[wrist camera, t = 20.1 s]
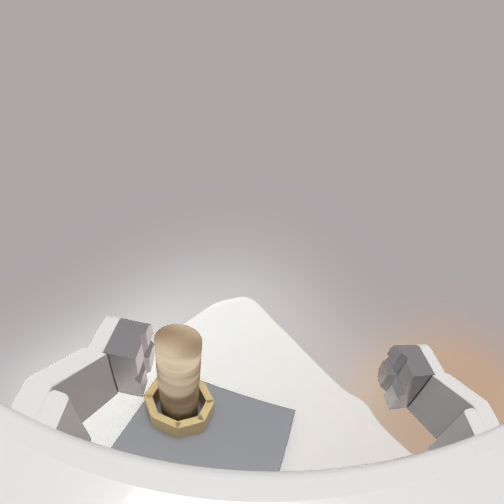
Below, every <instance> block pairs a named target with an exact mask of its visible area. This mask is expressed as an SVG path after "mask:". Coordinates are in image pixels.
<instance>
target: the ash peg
mask: <svg viewBox="0 0 504 504" xmlns="http://www.w3.org/2000/svg"><path fill="white" fill-rule="evenodd" d="M154 346H155V358H156V369H157V379H158V388H159V396H160V404H161V412H162V414H163V415H165V416H167V417H169V418H171V419H174V420H176V421H181V420H185V419H189V418H192V417H196V416H197V415H198V400H199V382H200V366H201V351H202V338H201V336H200V334H199V333H198V332H197V331H196V330H195V329H193V328H192V327H189V326H187V325H182V324H172V325H167V326H164V327H162V328H161V329H159V330H158V331H157V333H156V334H155V337H154Z"/></svg>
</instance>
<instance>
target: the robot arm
mask: <svg viewBox="0 0 504 504" xmlns="http://www.w3.org/2000/svg"><path fill="white" fill-rule="evenodd" d="M152 335H153V329H152V325H151V324H147V323H141V322H137V321H132V320H128V319H123V318H117V317H113V316H109V315H108V316H106V317H105V318H104V320H103V321H102V323H101V325H100V326H99V328H98V330H97V332H96V333H95V335H94V337H93V339H92V340H91V342H90V344H89V346H88V348H81V349H80V350H78V351H76V352H74V353H72V354H71V355H68V356H67V357H65V358H63V359H61V360H59V361H57V362H55V363H54V364H52V365H50V366H48V367H46V368H44V369H43V370H41V371H39V372H37V373H35V374H33V375H31V376H29V377H28V378H27V379H26V381H25V383H24V385H23V386H22V388H21V390H20V391H19V393H18V395H17V397H16V398H15V400H14V402H13V404H12V406H11V407H8V406H6V405H4V404H3V403H1V402H0V504H504V423H503V424H501V425H500V424H499V422H498V420H497V418H496V416H495V414H494V412H493V411H492V409H491V407H490V405H489V403H488V402H487V401H486V400H484V399H483V398H481V397H480V396H479V395H477V394H476V393H475V392H473V391H472V390H470V389H469V388H468V387H466V386H465V385H463V384H462V383H461V382H459V381H458V380H456V379H455V378H454V377H452V376H451V375H450V374H445V372H444V370H443V369H442V367H441V365H440V364H439V362H438V360H437V358H436V357H435V355H434V353H433V352H432V350H431V348H430V347H429V346H428V345H426V344H424V345H397V346H393V347H391V348H390V350H389V352H388V358H387V359H386V360H385V361H383V362H382V364H381V366H380V368H379V372H378V381H379V384H380V386H381V387H382V388H383V389H384V390H385V394H384V397H385V400H386V403H387V405H388V408H389V409H399V408H407V409H408V410H409V411H410V412H411V413H412V414H413V415H414V416H415V417H416V418H417V419H418V420H419V421H420V422H421V424H422V425H423V426H424V427H425V428H426V429H427V430H428V431H429V432H430V433H431V434H432V435H433V436H434V437H435V438H436V440H435V441H434V442H433V443H431V444H430V446H429V447H428V450H429V451H426V452H422V453H418V454H414V455H410V456H406V457H402V458H397V459H393V460H388V461H382V462H377V463H371V464H365V465H358V466H351V467H343V468H333V469H322V470H307V471H243V470H228V469H217V468H208V467H199V466H192V465H185V464H179V463H173V462H167V461H162V460H157V459H152V458H148V457H143V456H139V455H135V454H131V453H127V452H123V451H119V450H116V449H112V448H109V447H105V446H102V445H99V444H96V443H93V442H90V441H91V438H90V436H89V434H88V432H87V431H86V429H85V427H84V425H83V424H82V422H84V421H85V420H86V419H87V418H88V417H90V416H91V415H92V414H93V413H95V412H96V411H97V410H98V409H99V408H101V407H102V406H103V405H104V404H105V403H107V402H108V401H109V400H110V399H111V398H113V397H114V396H115V395H116V394H117V393H118V392H121V393H126V394H131V395H135V396H141V397H143V394H144V391H145V388H146V384H147V375H146V374H147V373H148V372H150V371H151V368H152V365H153V359H154V343H153V342H152V341H151V338H152Z"/></svg>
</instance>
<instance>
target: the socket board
mask: <svg viewBox="0 0 504 504" xmlns="http://www.w3.org/2000/svg"><path fill="white" fill-rule="evenodd" d="M144 399H145V401H144V402H143V404H142V405H141V407H140V408H139V409H138V411H137V412H136V414H135V415H134V416H133V418H132V419H131V421H130V422H129V423H128V425H127V426H126V428H125V429H124V430H123V432H122V433H121V434H120V436H119V437H118V439H117V440H116V441H115V443H114V444H113V446H112V447H111V448H112V449H116V450H119V451H123V452H127V453H131V454H135V455H139V456H143V457H148V458H152V459H157V460H162V461H167V462H173V463H179V464H185V465H192V466H199V467H208V468H217V469H228V470H243V471H279V470H280V467H281V463H282V460H283V456H284V453H285V449H286V445H287V441H288V438H289V434H290V430H291V426H292V422H293V418H294V414H295V410H293V409H289V408H285V407H281V406H278V405H274V404H271V403H267V402H264V401H260V400H257V399H254V398H250V397H247V396H244V395H241V394H238V393H235V392H232V391H229V390H226V389H223V388H220V387H217V386H215V385H212V384H209V383H206V382H204V381H201V380H200V382H199V400H198V415H197V416H196V417H192V418H189V419H185V420H181V421H176V420H174V419H171V418H169V417H167V416H165V415H163V414H162V412H161V404H160V396H159V388H158V379H157V378H156V379H155V381H154V382H153V384H152V385H151V386H150V388H149V389H148V390H147V392H146V393H145V394H144Z"/></svg>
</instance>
